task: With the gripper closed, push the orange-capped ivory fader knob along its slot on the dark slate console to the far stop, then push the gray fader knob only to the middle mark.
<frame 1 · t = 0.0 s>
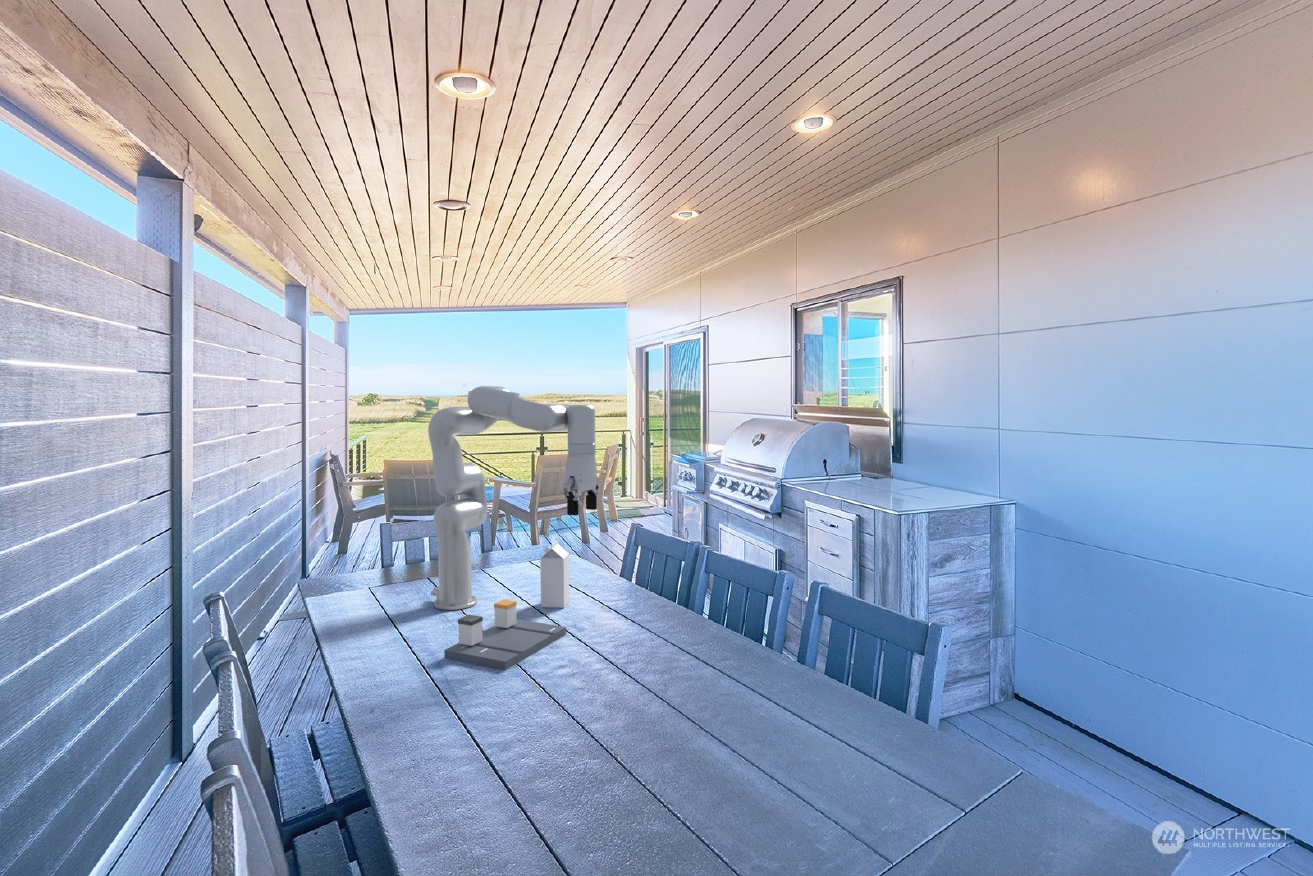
hand: (582, 512, 186), 31 cm above the table, tool pointing down, fingers open, 9 cm apart
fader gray: (470, 630, 168), point 5 cm above the table, slide at 0.0 cm
console: (508, 645, 172), on the table
fader orange: (505, 613, 180), point 5 cm above the table, slide at 0.0 cm
milk carton: (555, 605, 206), on the table
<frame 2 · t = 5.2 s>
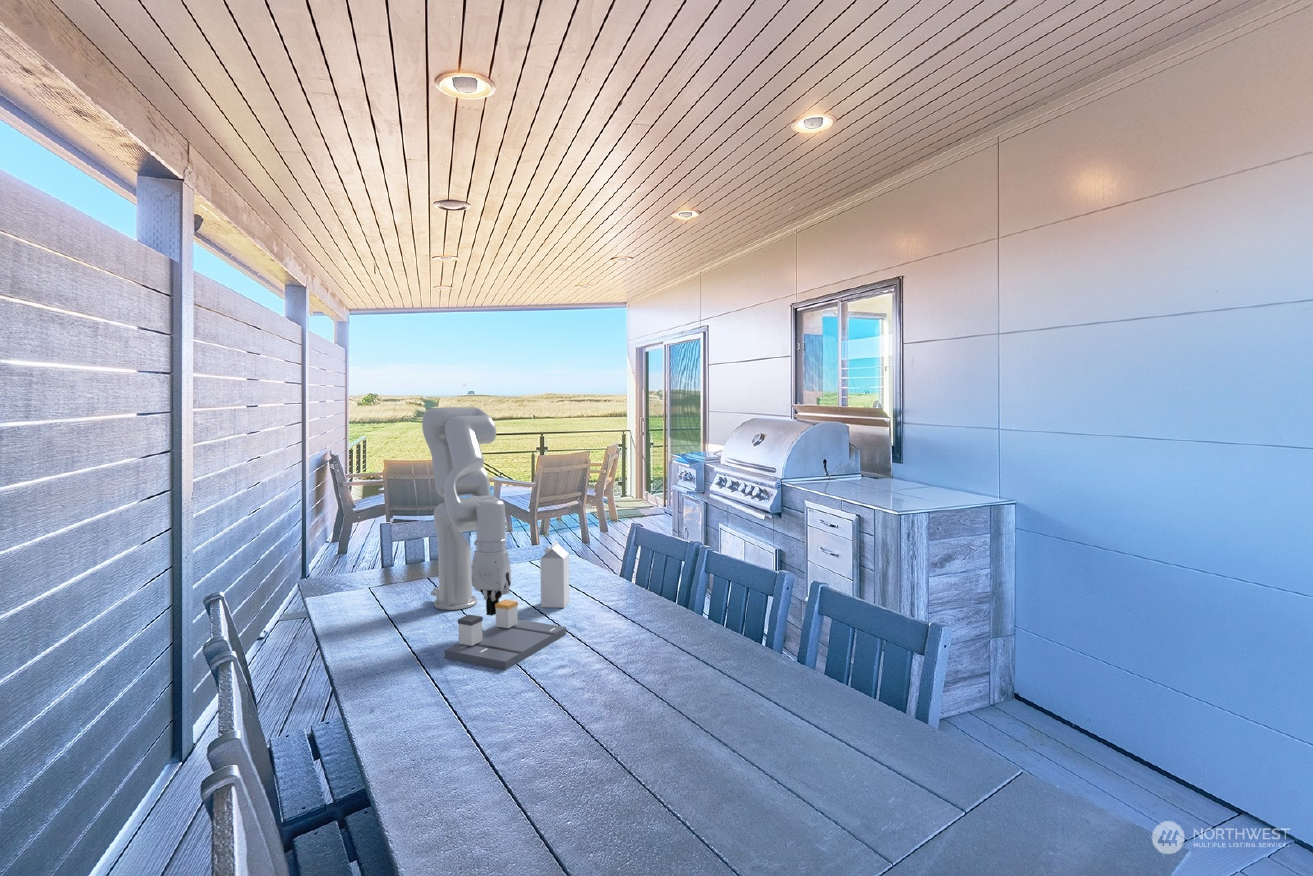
hand: (492, 613, 182), 5 cm above the table, tool pointing down, fingers closed
fader orange: (506, 613, 180), point 5 cm above the table, slide at 0.4 cm, touching gripper
everything else where it was.
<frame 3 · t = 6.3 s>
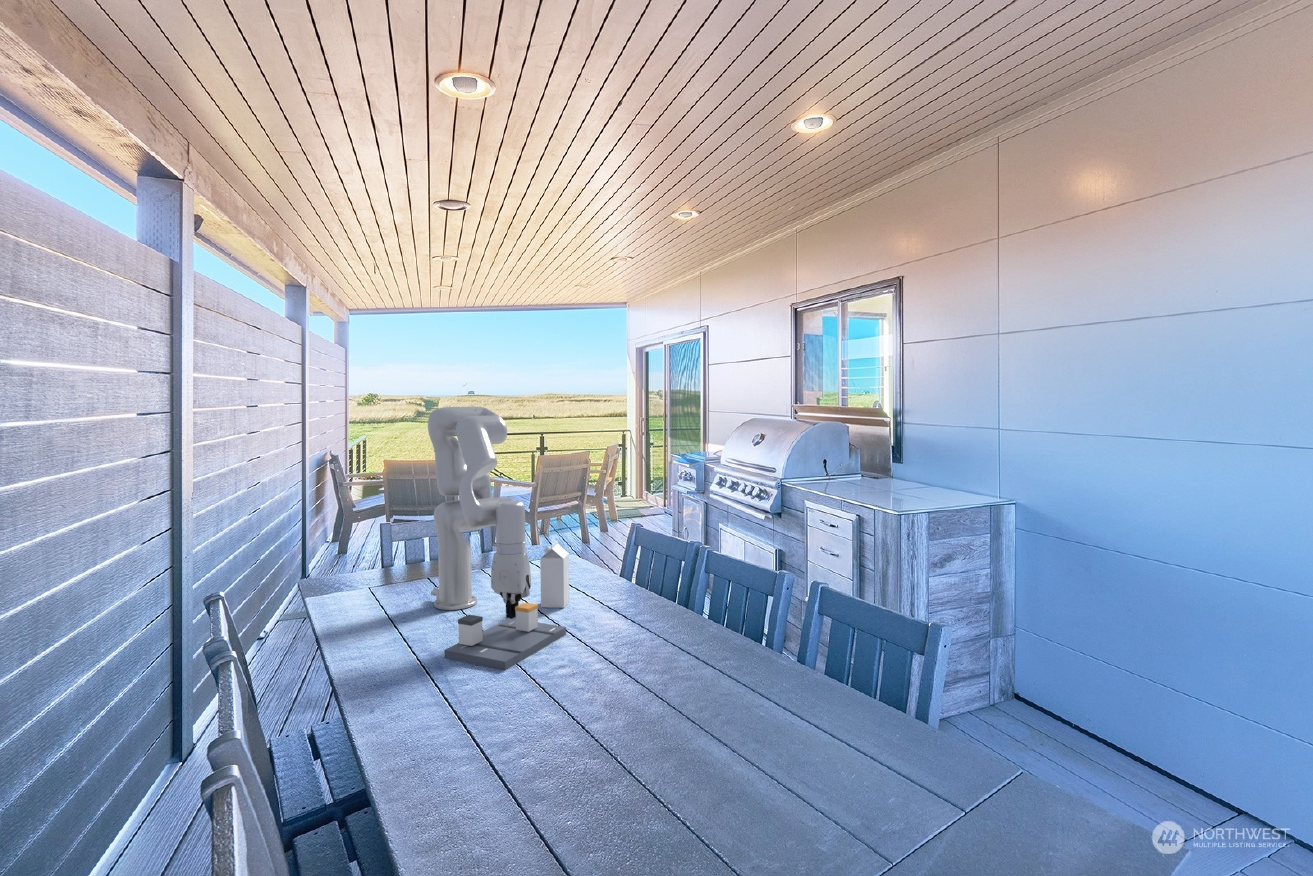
hand: (512, 616, 179), 5 cm above the table, tool pointing down, fingers closed
fader orange: (526, 617, 178), point 5 cm above the table, slide at 6.8 cm, touching gripper
everything else where it was.
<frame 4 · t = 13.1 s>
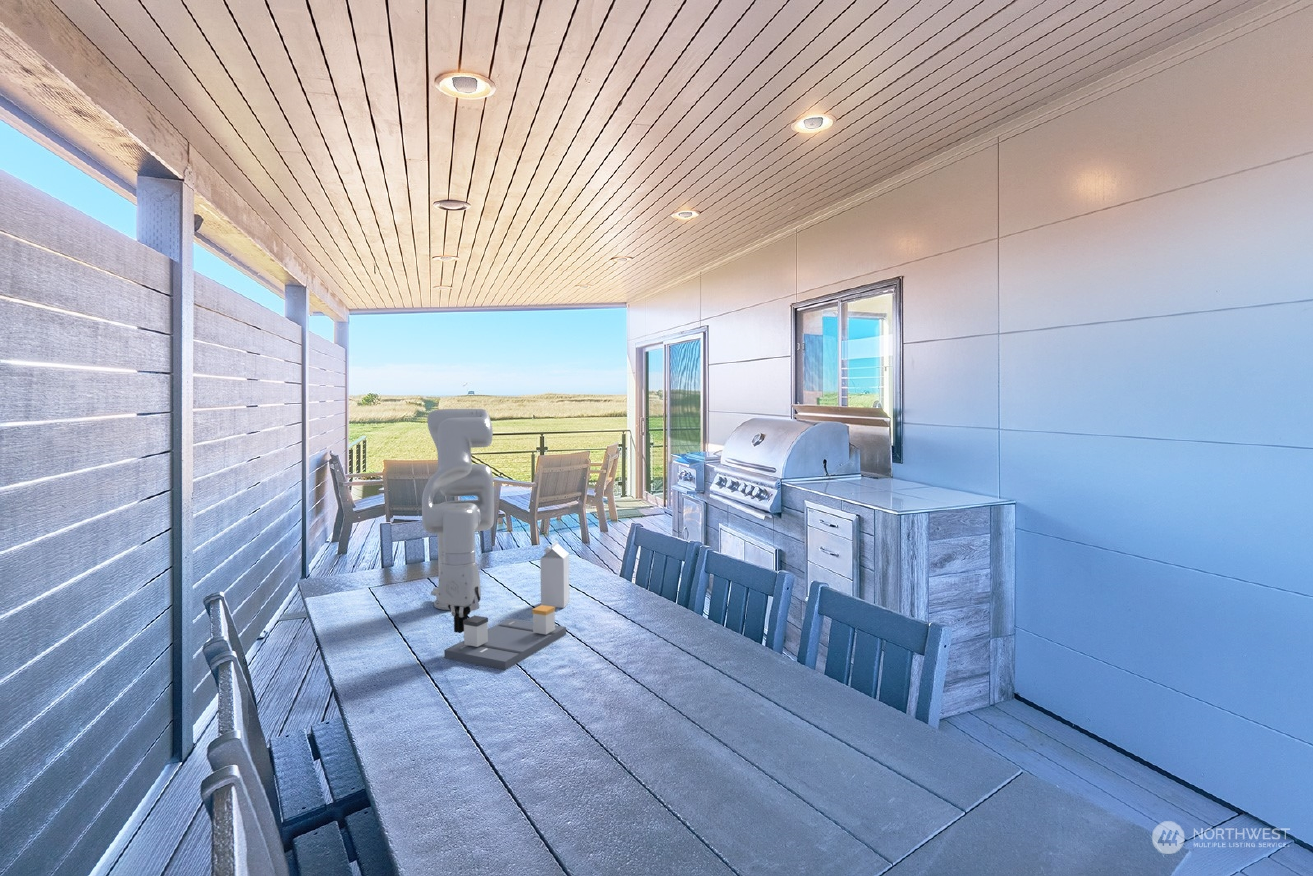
hand: (461, 630, 169), 5 cm above the table, tool pointing down, fingers closed
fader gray: (475, 631, 167), point 5 cm above the table, slide at 1.7 cm, touching gripper
fader orange: (543, 619, 175), point 5 cm above the table, slide at 12.1 cm
everything else where it was.
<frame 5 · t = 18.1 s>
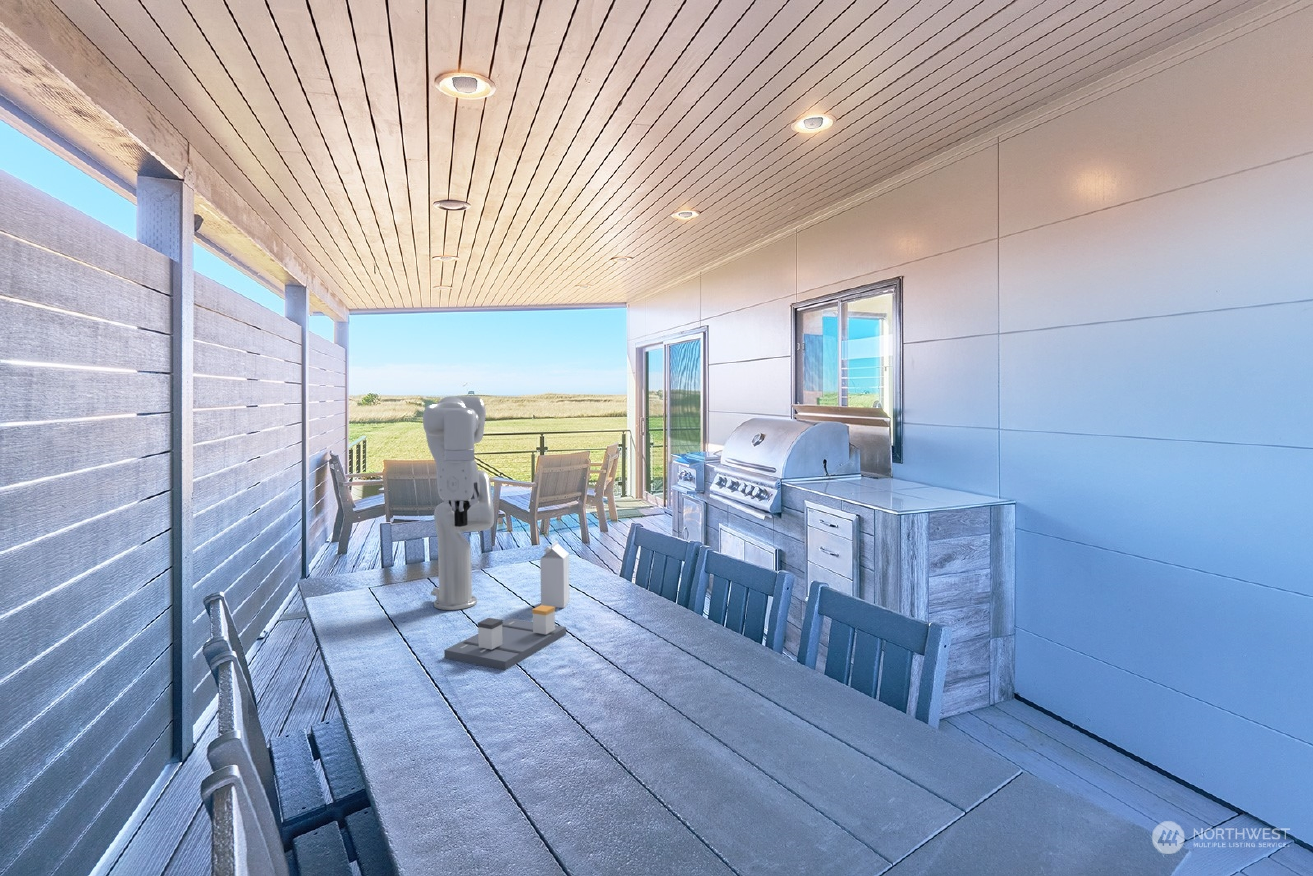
hand: (461, 525, 179), 29 cm above the table, tool pointing down, fingers closed
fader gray: (490, 633, 165), point 5 cm above the table, slide at 6.1 cm
everything else where it was.
at the end: fader orange slide at 12.1 cm; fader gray slide at 6.1 cm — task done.
